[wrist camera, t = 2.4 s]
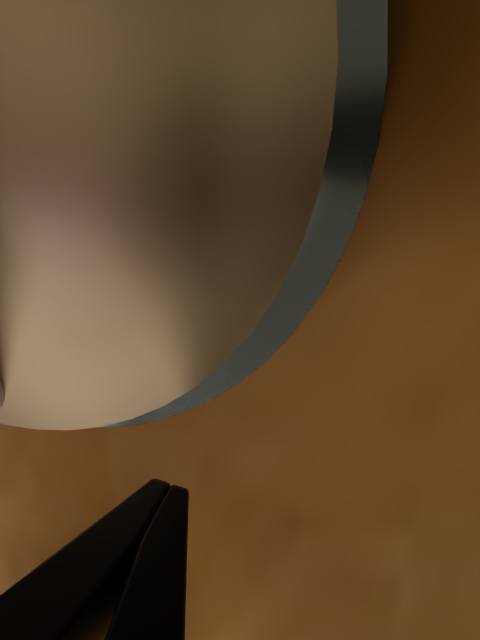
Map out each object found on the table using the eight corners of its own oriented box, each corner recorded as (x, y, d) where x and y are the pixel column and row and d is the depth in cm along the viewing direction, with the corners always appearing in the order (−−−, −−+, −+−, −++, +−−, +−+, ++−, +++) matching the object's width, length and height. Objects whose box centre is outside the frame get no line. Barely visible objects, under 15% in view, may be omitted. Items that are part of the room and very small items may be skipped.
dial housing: (6, -892, 5) (-91, -1224, 4) (518, 234, 8) (550, 242, 7) (-339, 45, 11) (-416, 29, 10) (36, 473, 15) (11, 499, 14)
